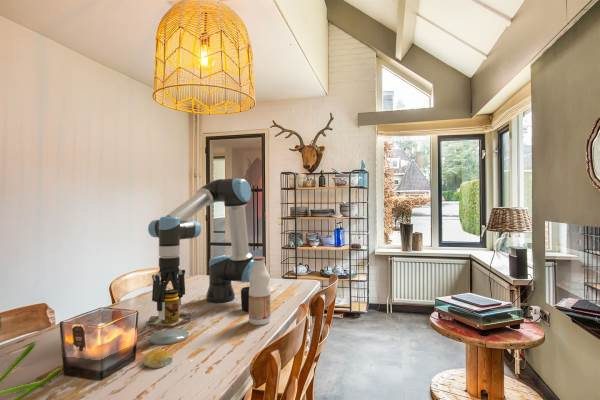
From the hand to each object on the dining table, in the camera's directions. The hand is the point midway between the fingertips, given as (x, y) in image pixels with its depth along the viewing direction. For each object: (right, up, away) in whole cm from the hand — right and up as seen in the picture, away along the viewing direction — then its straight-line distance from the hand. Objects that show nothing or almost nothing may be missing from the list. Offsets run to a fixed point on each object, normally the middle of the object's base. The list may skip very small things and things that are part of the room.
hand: (169, 316), depth 134 cm
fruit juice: (+33, -8, +17) cm, 38 cm away
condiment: (0, -2, 0) cm, 2 cm away
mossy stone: (+4, -8, -21) cm, 23 cm away
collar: (-7, -8, +19) cm, 22 cm away
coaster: (0, -8, 0) cm, 8 cm away
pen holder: (+26, -9, +35) cm, 45 cm away
